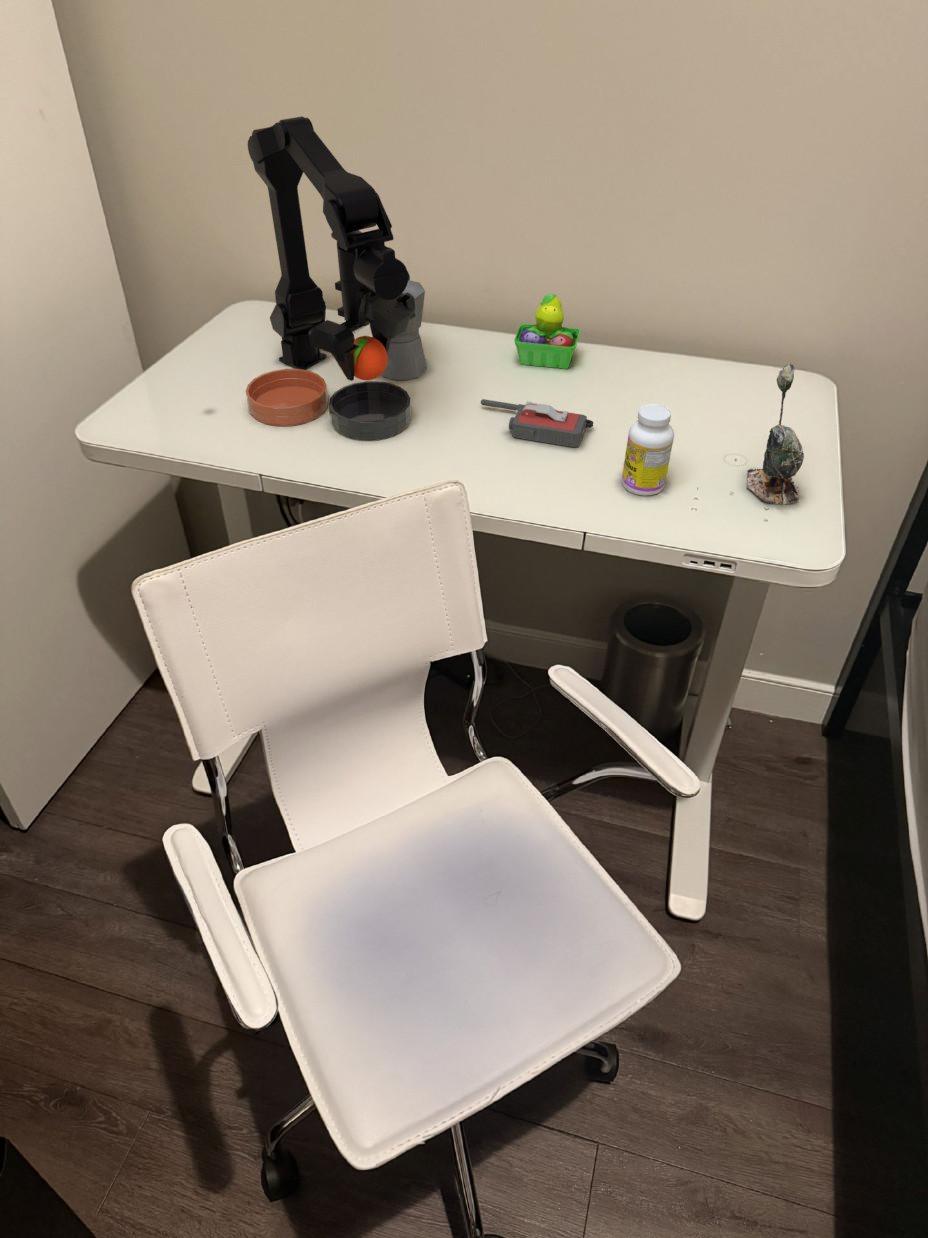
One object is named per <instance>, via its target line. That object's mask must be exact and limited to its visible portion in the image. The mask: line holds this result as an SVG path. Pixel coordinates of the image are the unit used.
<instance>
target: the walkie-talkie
mask: <svg viewBox="0 0 928 1238" xmlns="http://www.w3.org/2000/svg"><path fill="white" fill-rule="evenodd" d="M480 405H482V406H485V407H492V408H498V409H502V410H503V409H504V410H509V411H514V412H515V416H511V417H510V418H509V422H508V429H509V430H510V431H511V437H513V438H517V439H522V440H529V441H534V442H539V443H546V444H553V445H558V446H563V447H570V448H576V447H580V444H581V442H582V439H583V437H584V436H585V435H584V434H585V433H586V429H591V428H593V427H594V421H593V420H591V419H588V416H587V415H585V414H581V413H575V412H569V411H567V410H565V411H564V410H558V409H556V408H554V407H553V406H552V405H549V404H544V403H543V404H542V403H537V402H533V401H528V400H527V401H526V402H525V404H521V403H519V404H516V403H510V402H503V401H499V400H491V399H486V398H485V399H484V398H482V399H481V400H480Z"/></svg>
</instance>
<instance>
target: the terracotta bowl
mask: <svg viewBox="0 0 928 1238" xmlns="http://www.w3.org/2000/svg"><path fill="white" fill-rule="evenodd" d="M245 396H246V401H247V406H248V410H249V414H250V415H251V416H252V417H253V418H254V419H255V420H256V421H258V422H260V423H262V424H264V425H268V426H273V427H293V426H295V427H296V426H301V425H303V424H307V423H310V422H312V421H314V420H317V419H318V418H319V417H321V416H322V415H323V414H324V413H325V412H326V410H327V408H328V406H329V395H328V386H327V382H326V380H325V378H323V377H322V376H321V375H320V374H319V373H316V372H314V371H311V370H309V369H305V370H302V369H299V368H282V369H276V370H272V371H268V372H264V373H262V374H260V375H259V376H257V377H255V378H253V379H252V380H251V381H250V382H249V383H248V384H247V386H246V388H245Z"/></svg>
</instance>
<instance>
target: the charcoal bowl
mask: <svg viewBox="0 0 928 1238" xmlns="http://www.w3.org/2000/svg"><path fill="white" fill-rule="evenodd" d="M411 400H412V398H411V396H410V394H409V393H408V391H407V390H406V389H404V388H402V386H399V385H397V384H394V383H392V382H386V381H381V380H368V381H365V380H364V381H360V382H359V381H358V382H354V383H350V384H347V385H345V386H343V387H340V388H339V389H338V390H336V391H334V393H333V394H332V395H331V396H330V397H329V399H328V411H329V420H330V424H331V425H332V427H333V429H334V430H335V431H336V432H337V433H338V434H340V435H341V436H343V437H345V438H349V439H352V440H355V441H363V442H364V441H365V442H368V441H369V442H373V441H381V440H386V439H390V438H393V437H395V436H397V435H399V434H401V433H402V432H404V431H405V430H406V429H407V428H408V426H409V425H410V422H411V421H412V402H411Z"/></svg>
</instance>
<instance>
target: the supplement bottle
mask: <svg viewBox="0 0 928 1238" xmlns="http://www.w3.org/2000/svg"><path fill="white" fill-rule="evenodd" d="M671 418H672V411H671V409H670V408H668V407H667V406H666V405H663V404H659V403H646V404H644V405H642V406H640V407H639V409H638V412H637V420H636V421H634V422H633V423H631V425H630V427H629V429H628V433H627V434H628V435H627V441H626V450H625V455H624V461H623V468H622V475H621V483H622V485H623V487H624V488H625V490H627V491H629V492H630V493H632V494H635V495H638V496H653V495H657V494H659V493H660V492H662V491H663V490H664V488H665V486H666V481H667V476H668V471H669V466H670V461H671V454H672V449H673V444H674V439H675V431H674V429H673V427H672V425H671V424H670V423H671Z"/></svg>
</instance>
